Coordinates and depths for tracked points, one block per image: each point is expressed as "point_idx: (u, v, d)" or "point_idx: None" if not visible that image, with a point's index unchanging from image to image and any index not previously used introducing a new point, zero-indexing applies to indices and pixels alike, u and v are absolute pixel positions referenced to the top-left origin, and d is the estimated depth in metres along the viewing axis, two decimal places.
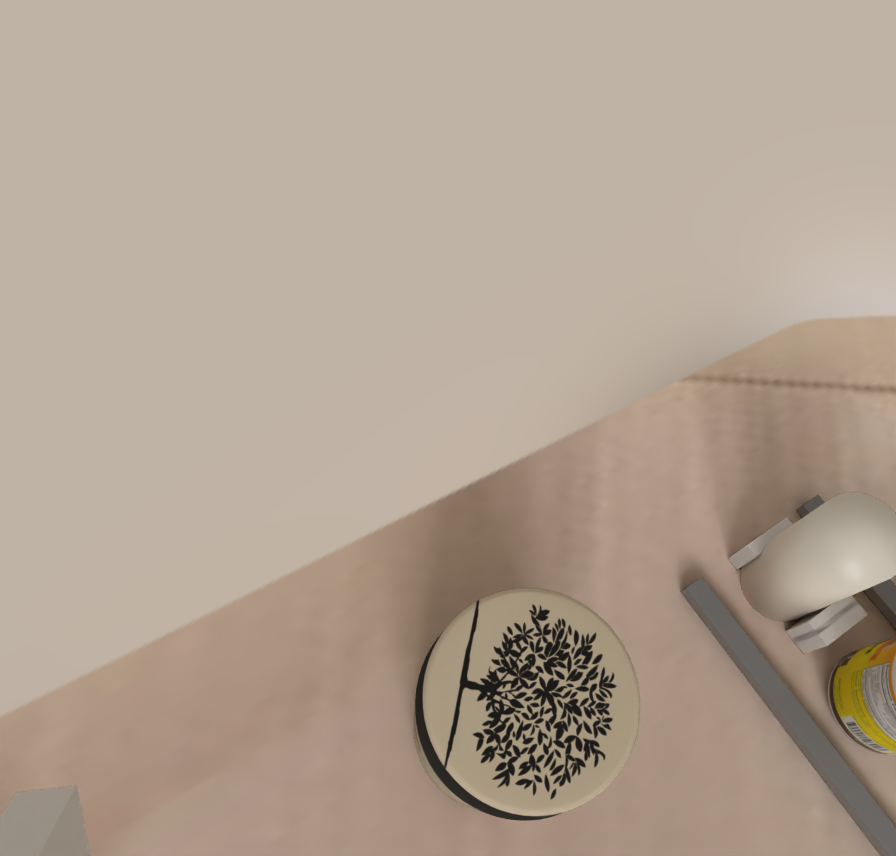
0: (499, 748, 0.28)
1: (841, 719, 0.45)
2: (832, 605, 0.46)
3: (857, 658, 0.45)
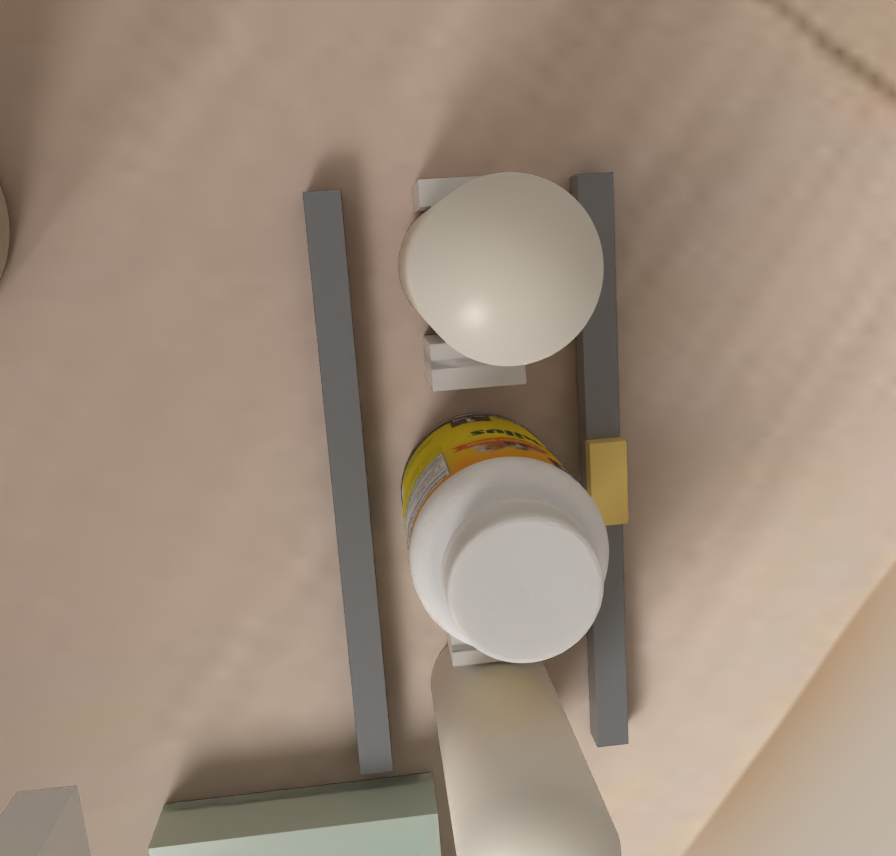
0: None
1: (402, 485, 0.29)
2: None
3: (462, 431, 0.27)
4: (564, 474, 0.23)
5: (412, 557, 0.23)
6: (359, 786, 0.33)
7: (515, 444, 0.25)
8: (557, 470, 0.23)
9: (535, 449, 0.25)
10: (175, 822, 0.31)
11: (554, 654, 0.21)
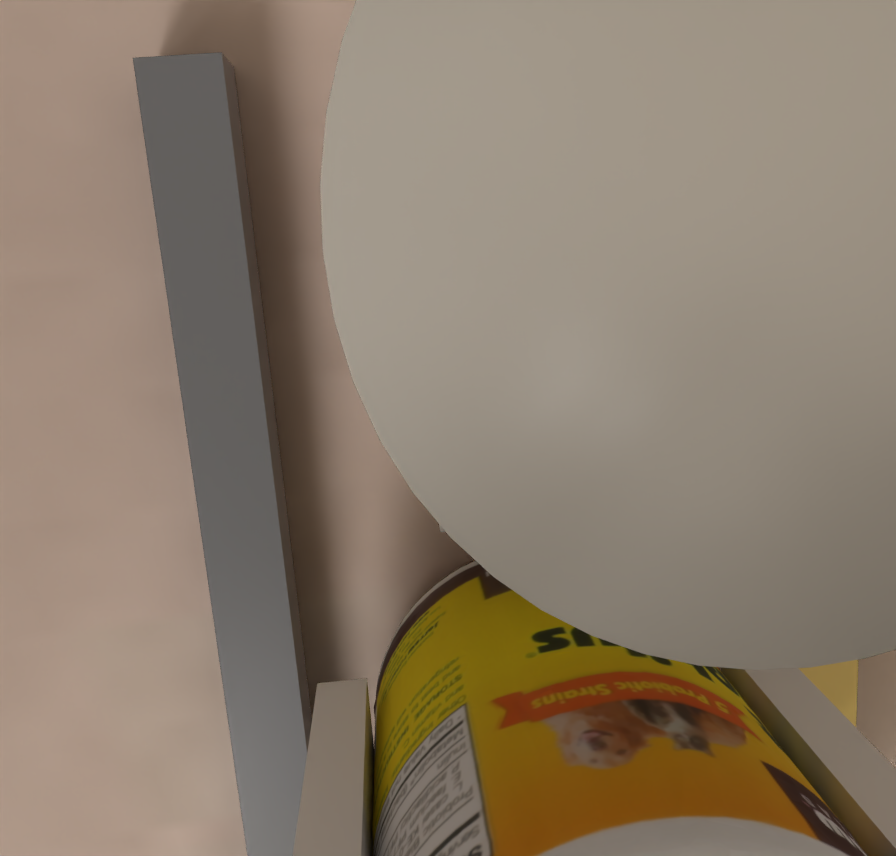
0: None
1: (376, 708, 0.14)
2: None
3: (511, 622, 0.12)
4: None
5: None
6: None
7: (666, 715, 0.09)
8: None
9: (719, 725, 0.09)
10: None
11: None
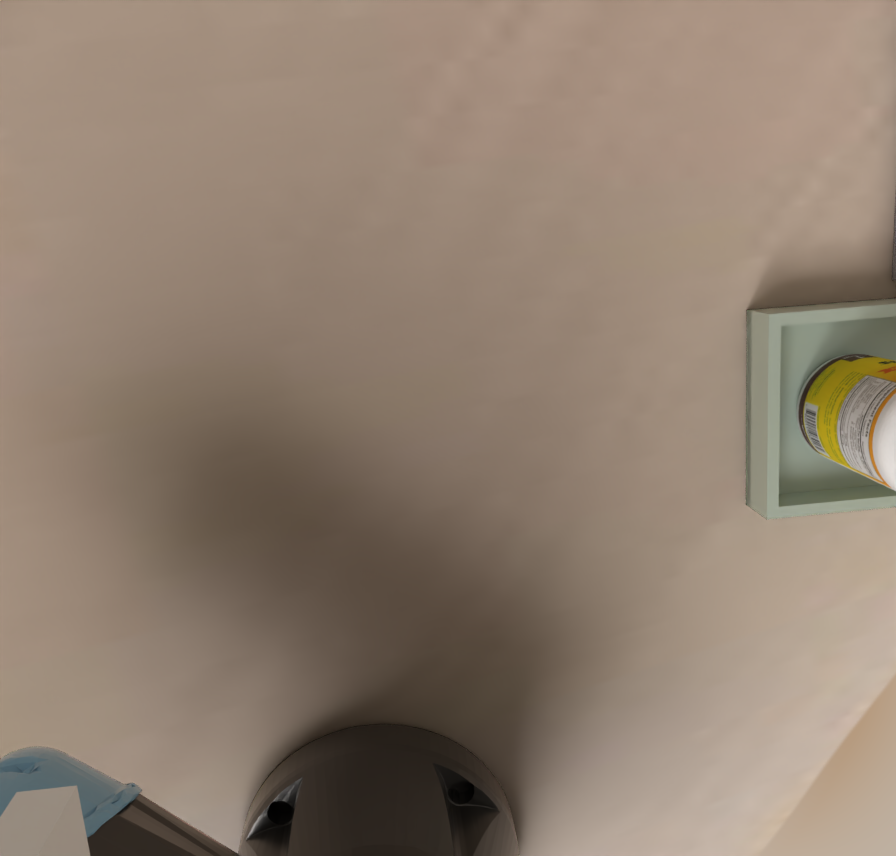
0: None
1: (804, 403, 0.42)
2: None
3: (867, 362, 0.40)
4: None
5: (880, 436, 0.36)
6: (893, 298, 0.43)
7: None
8: None
9: None
10: (770, 310, 0.42)
11: None
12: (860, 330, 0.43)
